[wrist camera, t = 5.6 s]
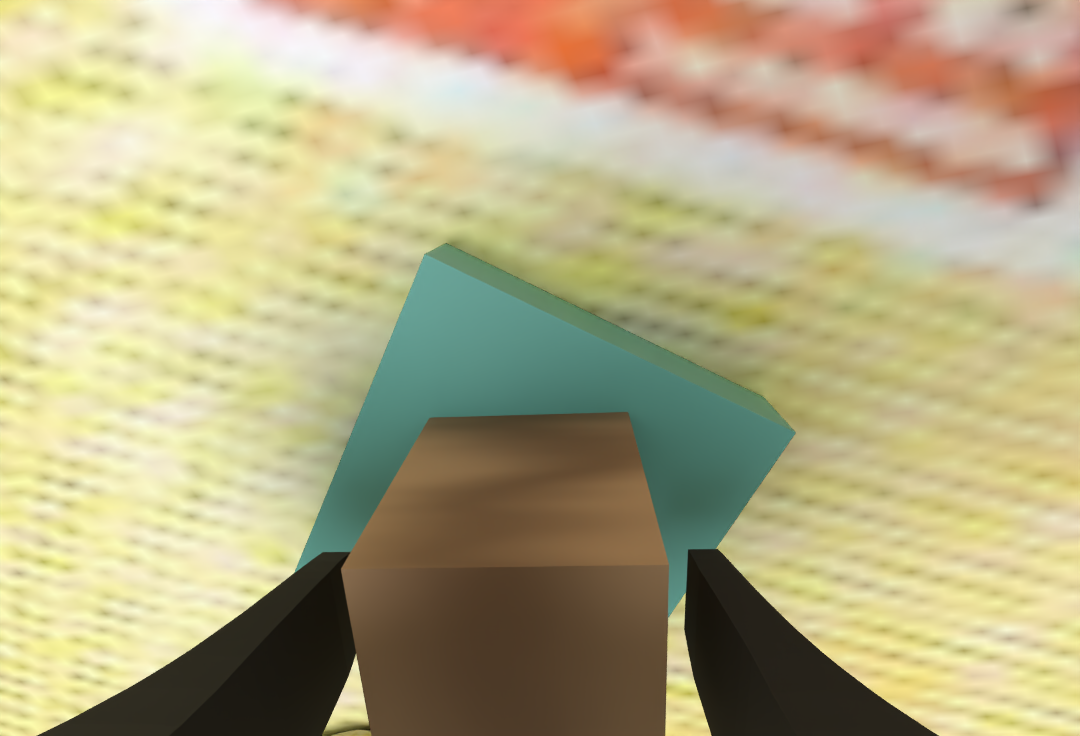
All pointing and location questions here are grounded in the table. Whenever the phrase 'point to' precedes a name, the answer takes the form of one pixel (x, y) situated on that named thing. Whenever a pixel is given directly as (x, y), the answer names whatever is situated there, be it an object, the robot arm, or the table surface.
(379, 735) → the walnut block
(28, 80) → the table surface
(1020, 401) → the table surface
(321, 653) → the robot arm
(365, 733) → the bread roll
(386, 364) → the teal base
